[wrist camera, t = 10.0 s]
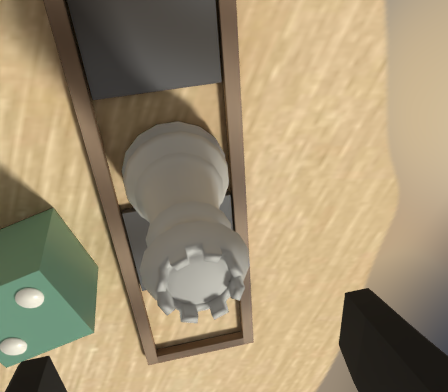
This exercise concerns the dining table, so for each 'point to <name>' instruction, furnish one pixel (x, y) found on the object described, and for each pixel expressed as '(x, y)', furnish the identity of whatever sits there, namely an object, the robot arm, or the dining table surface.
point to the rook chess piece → (185, 220)
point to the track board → (143, 83)
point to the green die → (43, 288)
